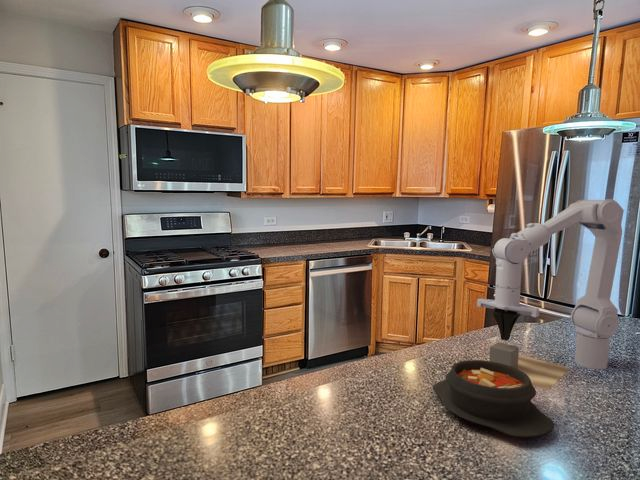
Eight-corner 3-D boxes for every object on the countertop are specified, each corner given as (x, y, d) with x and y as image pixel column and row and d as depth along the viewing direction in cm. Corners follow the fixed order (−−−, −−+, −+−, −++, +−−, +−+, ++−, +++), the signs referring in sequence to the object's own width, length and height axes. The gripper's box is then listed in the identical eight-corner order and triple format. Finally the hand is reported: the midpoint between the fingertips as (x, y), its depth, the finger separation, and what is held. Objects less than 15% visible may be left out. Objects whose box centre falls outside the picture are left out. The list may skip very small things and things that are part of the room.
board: (503, 353, 119) (503, 350, 119) (570, 370, 107) (570, 367, 107) (475, 371, 106) (475, 368, 106) (548, 392, 95) (548, 389, 94)
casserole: (576, 432, 78) (579, 389, 77) (507, 458, 70) (509, 410, 69) (474, 381, 100) (475, 347, 100) (412, 395, 92) (413, 359, 92)
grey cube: (497, 362, 110) (498, 342, 110) (517, 368, 106) (518, 347, 106) (488, 368, 106) (490, 346, 106) (509, 374, 103) (511, 352, 102)
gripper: (472, 284, 107) (470, 336, 108) (533, 293, 97) (530, 350, 98) (484, 280, 112) (482, 330, 113) (543, 289, 102) (540, 343, 103)
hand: (505, 339), depth 106 cm, fingers closed
